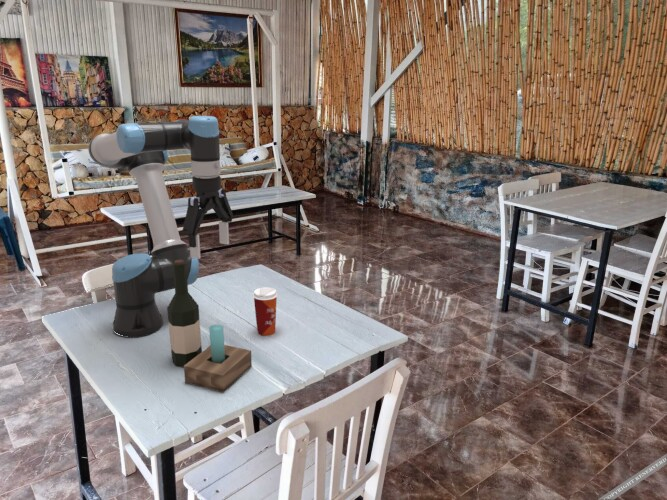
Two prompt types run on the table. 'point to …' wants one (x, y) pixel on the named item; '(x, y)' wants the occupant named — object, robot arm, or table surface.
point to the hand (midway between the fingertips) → (210, 250)
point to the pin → (217, 343)
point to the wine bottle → (183, 319)
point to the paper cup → (265, 310)
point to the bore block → (218, 368)
